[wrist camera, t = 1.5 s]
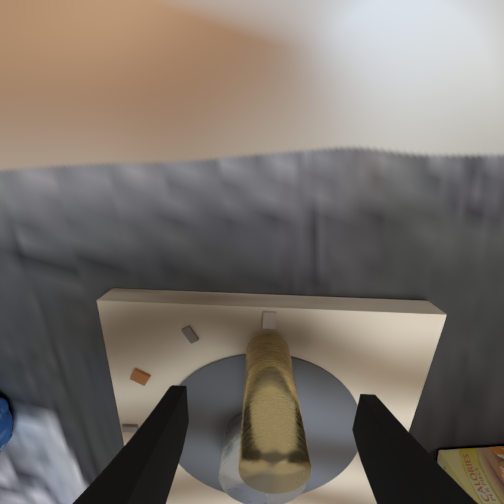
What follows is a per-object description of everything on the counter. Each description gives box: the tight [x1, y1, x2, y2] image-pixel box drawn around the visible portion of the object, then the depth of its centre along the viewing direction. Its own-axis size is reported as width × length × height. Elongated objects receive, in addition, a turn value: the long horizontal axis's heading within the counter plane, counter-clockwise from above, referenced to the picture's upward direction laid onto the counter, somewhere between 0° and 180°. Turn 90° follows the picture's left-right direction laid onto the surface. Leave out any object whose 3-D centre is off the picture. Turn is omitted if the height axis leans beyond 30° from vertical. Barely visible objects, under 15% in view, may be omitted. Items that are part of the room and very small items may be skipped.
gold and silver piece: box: [219, 334, 311, 504], centre depth 12 cm, size 11×5×6 cm, turn 178°
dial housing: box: [97, 288, 447, 504], centre depth 16 cm, size 19×19×2 cm
